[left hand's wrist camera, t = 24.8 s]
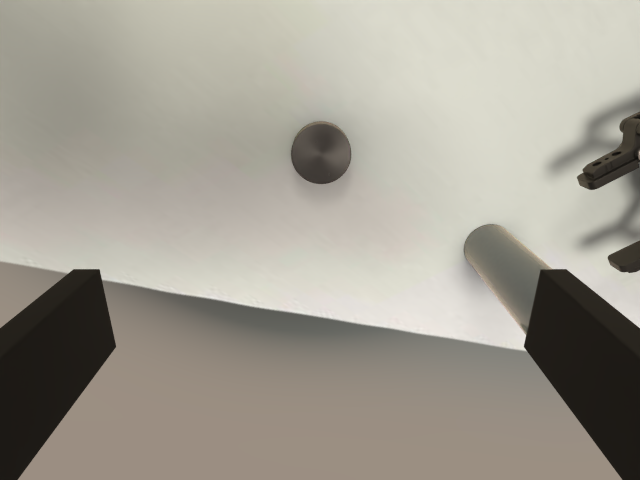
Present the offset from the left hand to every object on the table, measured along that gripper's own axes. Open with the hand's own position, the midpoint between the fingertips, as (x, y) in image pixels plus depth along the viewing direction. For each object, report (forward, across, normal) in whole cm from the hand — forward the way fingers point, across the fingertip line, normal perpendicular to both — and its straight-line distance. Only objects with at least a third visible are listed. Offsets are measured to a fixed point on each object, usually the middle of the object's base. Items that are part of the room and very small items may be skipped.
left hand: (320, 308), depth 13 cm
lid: (+27, 0, 0) cm, 27 cm away
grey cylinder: (+29, +17, -10) cm, 35 cm away
